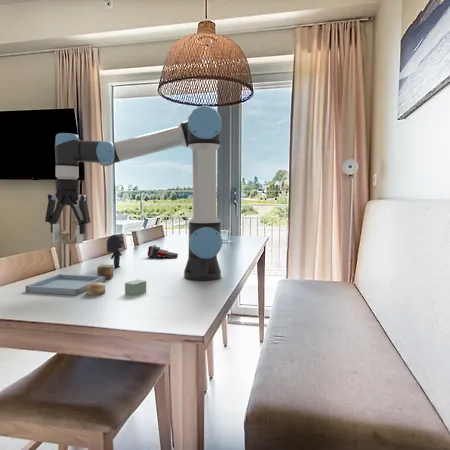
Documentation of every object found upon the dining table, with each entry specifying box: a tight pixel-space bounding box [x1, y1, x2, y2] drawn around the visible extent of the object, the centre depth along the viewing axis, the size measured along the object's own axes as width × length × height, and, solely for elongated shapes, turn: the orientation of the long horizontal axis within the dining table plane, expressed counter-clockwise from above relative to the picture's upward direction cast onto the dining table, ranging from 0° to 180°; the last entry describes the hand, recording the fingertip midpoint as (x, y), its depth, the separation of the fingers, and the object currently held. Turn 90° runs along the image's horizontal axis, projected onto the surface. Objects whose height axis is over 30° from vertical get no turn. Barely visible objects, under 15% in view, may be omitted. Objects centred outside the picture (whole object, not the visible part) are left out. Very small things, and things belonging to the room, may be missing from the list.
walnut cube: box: [96, 264, 114, 281], centre depth 146 cm, size 5×5×5 cm
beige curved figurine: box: [59, 219, 79, 245], centre depth 132 cm, size 9×6×10 cm
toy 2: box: [147, 244, 179, 259], centre depth 194 cm, size 9×6×15 cm
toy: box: [106, 234, 125, 269], centre depth 166 cm, size 9×8×15 cm
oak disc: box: [85, 282, 106, 297], centre depth 124 cm, size 6×6×3 cm
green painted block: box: [124, 278, 147, 297], centre depth 125 cm, size 4×6×4 cm, turn 149°
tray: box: [24, 273, 106, 296], centre depth 132 cm, size 19×19×2 cm
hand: (67, 242), depth 131 cm, fingers closed on beige curved figurine, 8 cm apart
